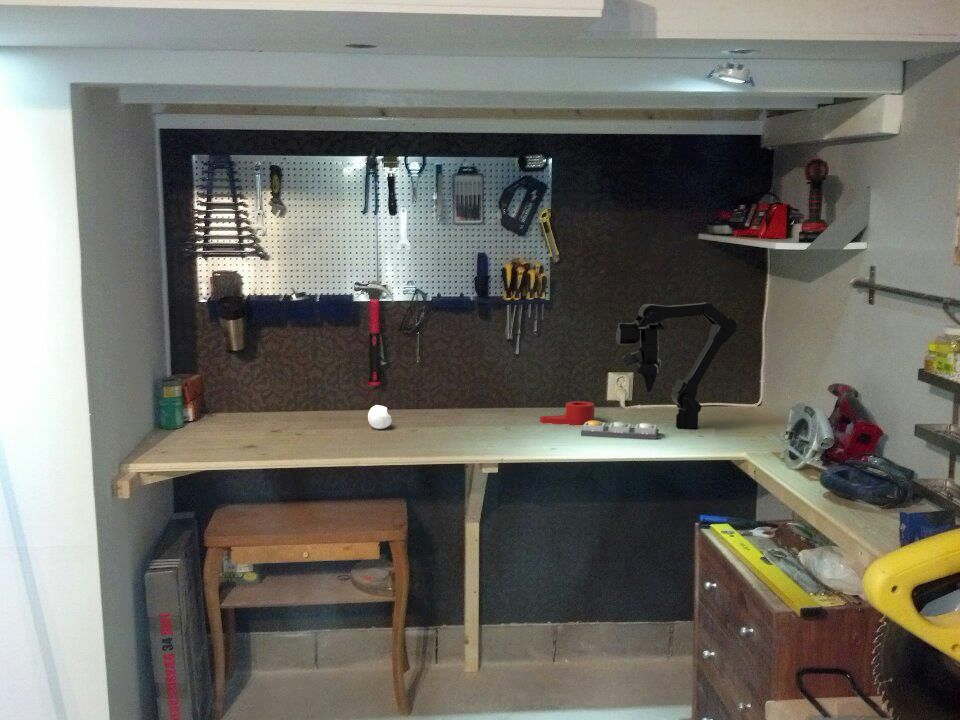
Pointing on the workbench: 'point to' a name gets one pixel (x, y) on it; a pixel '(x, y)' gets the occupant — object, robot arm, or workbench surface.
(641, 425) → the button white
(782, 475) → the workbench surface
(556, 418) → the lever
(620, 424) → the button sage
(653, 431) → the control board
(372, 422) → the white rounded piece
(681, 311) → the robot arm
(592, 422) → the button amber
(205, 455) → the workbench surface
